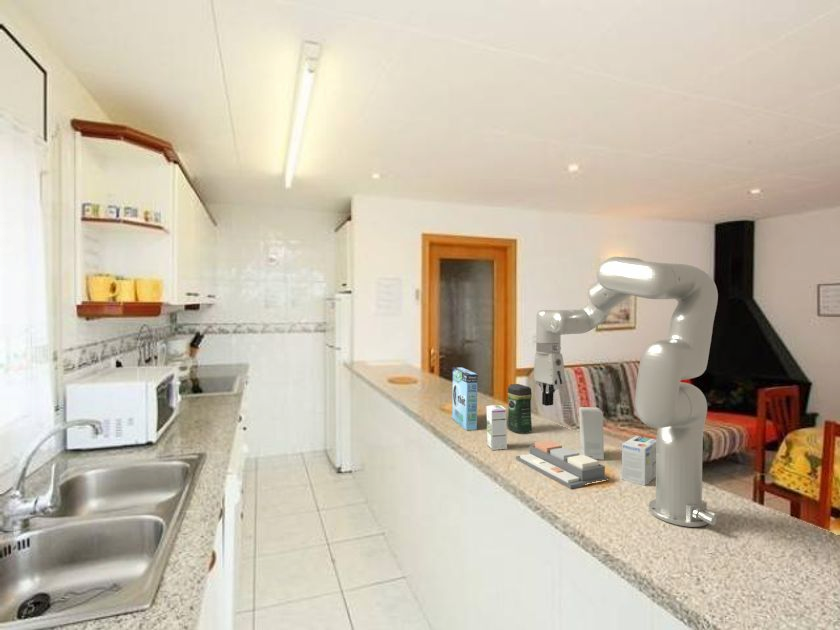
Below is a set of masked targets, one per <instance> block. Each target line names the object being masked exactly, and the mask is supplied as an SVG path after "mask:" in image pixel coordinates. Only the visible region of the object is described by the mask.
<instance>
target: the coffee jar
mask: <svg viewBox="0 0 840 630" xmlns="http://www.w3.org/2000/svg"><path fill="white" fill-rule="evenodd" d="M507 388H508V389H507V397H508V410H507V411H508V413H507V429H509V431H512V432H514V433H516V434H520V433H521V434H528V433H531V432H532V429H533V428H532V424H533V423H532V409H531V408H532V406H531V402H532V396H533V395H532V388H531V387H530V386H527V385H523V384H520V383H511V384H509V386H508V387H507Z"/></svg>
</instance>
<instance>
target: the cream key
mask: <svg viewBox="0 0 840 630" xmlns="http://www.w3.org/2000/svg"><path fill="white" fill-rule="evenodd" d="M599 462H600V460H595V459H592V458H590V457H588V456H585V455H582V454H579V455H578V456H573V457H568V463H570V464H572V465H574V466H576V467H578V468H580V469H587V468H592V467H597V466H598V465H599V464H600V463H599Z"/></svg>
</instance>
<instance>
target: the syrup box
mask: <svg viewBox="0 0 840 630" xmlns="http://www.w3.org/2000/svg"><path fill="white" fill-rule="evenodd" d="M507 429H508V421H507V408H505V407H504V406H503V405H501V404H493V405H486V445H488V446H489V447H490V448H491V449H492V450H491V449H490V450H491V451H502V450H501V449H505V450H507V449H508V447H507V446H508V437H507V436H508V435H507V434H508V433H507V432H508V431H507ZM488 446H487V447H488ZM498 449H500V450H498Z"/></svg>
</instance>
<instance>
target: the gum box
mask: <svg viewBox="0 0 840 630" xmlns="http://www.w3.org/2000/svg"><path fill="white" fill-rule="evenodd" d="M478 375H479V374H477V373H476V372H473V371H471V370H469V369H466V368H464V367H462V366H461V367H452V398H451V399H452V410H451V411H452V412H451V414H452V415H451V418H453V419H452V420H453V421H455V422H456V424H458V425H459V426H460V425H461V426H460V427H462V428H463V429H464V430H465V431H466V430H473V431H477V430H478Z"/></svg>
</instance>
